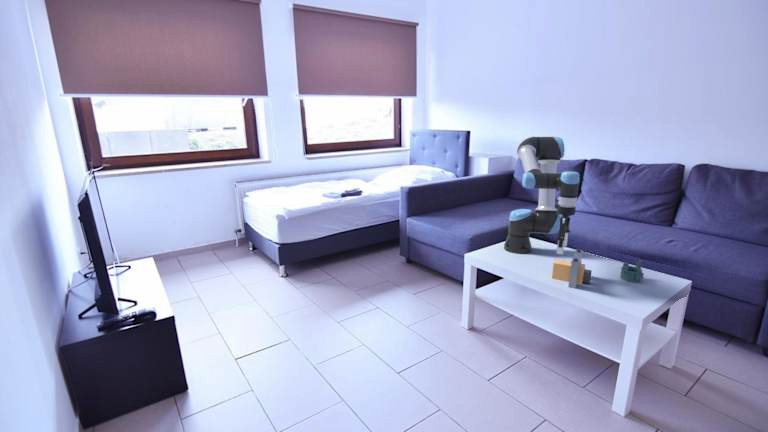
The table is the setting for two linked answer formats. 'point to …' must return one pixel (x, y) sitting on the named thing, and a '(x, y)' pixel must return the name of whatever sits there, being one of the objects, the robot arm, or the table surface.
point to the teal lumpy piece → (632, 272)
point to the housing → (575, 268)
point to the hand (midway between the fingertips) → (561, 249)
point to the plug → (563, 272)
